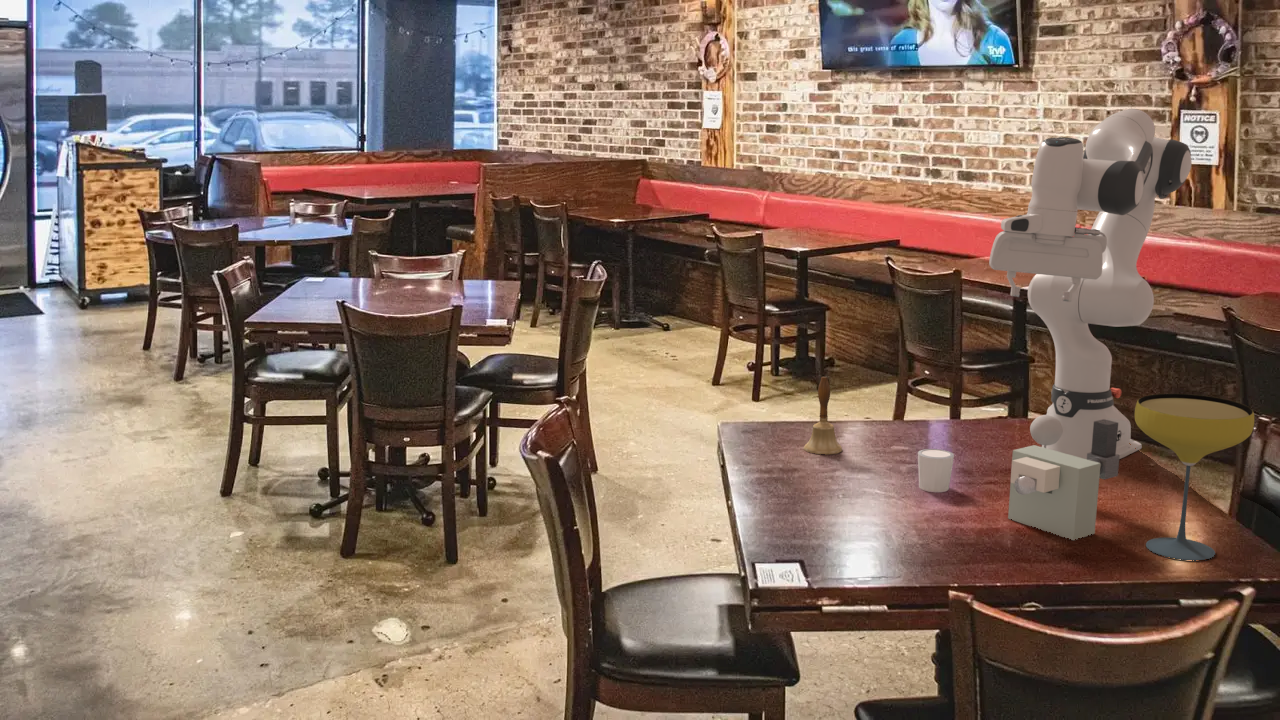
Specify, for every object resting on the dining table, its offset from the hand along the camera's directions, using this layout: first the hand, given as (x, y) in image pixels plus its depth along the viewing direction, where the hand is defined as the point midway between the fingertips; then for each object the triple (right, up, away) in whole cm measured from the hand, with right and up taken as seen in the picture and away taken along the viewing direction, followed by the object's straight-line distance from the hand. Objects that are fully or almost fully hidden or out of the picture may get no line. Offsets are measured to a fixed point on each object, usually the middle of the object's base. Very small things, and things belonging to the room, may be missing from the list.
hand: (1040, 298), depth 238 cm
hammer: (0, -34, -13) cm, 36 cm away
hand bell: (-36, -31, +34) cm, 58 cm away
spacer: (-7, -33, -18) cm, 39 cm away
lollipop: (+2, -37, +7) cm, 38 cm away
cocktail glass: (+16, -44, -25) cm, 53 cm away
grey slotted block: (-3, -41, -14) cm, 43 cm away
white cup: (-18, -37, +8) cm, 42 cm away
